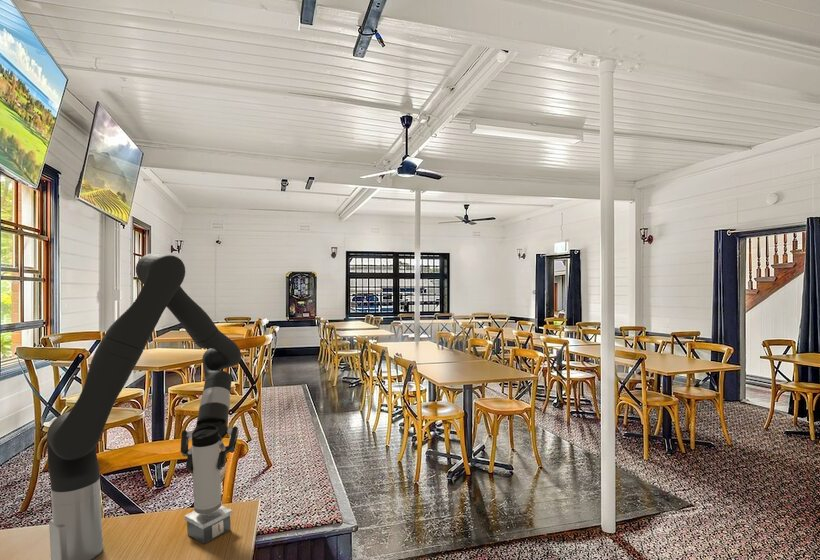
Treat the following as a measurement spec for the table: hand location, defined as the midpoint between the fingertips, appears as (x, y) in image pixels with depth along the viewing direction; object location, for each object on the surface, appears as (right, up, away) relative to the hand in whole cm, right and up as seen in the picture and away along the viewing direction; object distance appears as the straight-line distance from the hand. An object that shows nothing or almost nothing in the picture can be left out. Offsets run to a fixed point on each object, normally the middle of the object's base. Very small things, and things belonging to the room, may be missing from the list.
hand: (205, 469), depth 114 cm
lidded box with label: (0, -17, +2) cm, 17 cm away
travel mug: (0, -10, +2) cm, 11 cm away
